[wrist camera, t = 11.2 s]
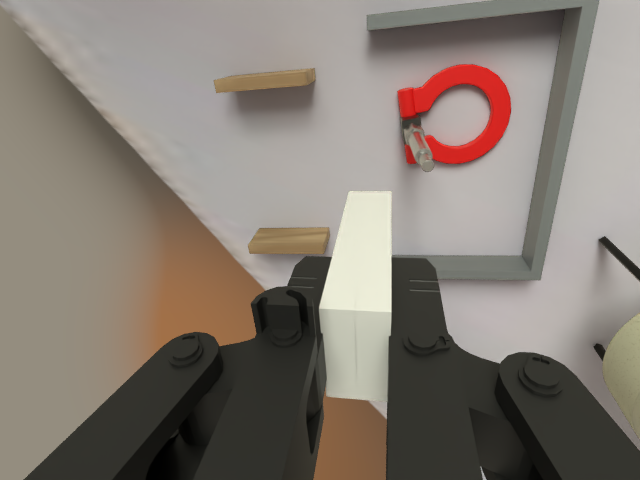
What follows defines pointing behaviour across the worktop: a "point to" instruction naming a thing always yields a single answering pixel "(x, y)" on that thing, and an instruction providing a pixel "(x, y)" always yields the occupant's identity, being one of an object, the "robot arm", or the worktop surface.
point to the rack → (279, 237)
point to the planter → (624, 355)
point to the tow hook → (422, 100)
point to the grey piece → (557, 131)
